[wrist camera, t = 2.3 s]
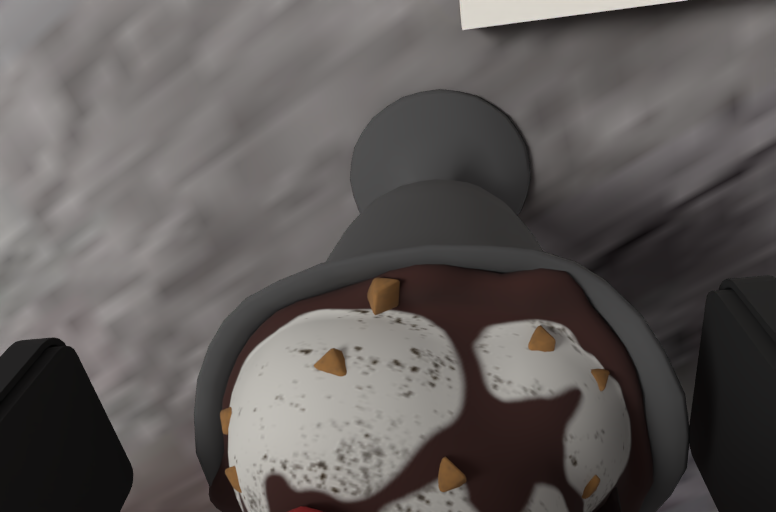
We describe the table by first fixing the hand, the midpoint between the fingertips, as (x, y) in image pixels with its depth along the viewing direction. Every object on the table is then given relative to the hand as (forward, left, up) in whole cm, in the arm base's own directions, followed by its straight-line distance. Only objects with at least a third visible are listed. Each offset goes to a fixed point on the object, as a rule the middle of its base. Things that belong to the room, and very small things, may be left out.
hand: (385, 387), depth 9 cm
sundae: (-1, 0, -9) cm, 9 cm away
